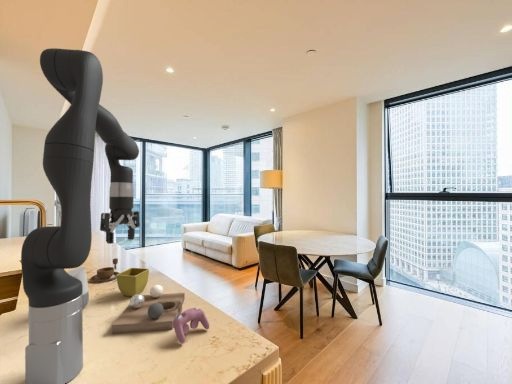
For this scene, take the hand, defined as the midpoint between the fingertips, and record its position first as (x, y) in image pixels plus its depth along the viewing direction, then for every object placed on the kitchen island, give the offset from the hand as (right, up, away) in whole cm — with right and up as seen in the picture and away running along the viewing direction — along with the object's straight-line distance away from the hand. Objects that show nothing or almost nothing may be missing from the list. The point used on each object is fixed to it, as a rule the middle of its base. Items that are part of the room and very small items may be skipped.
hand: (121, 241), depth 84 cm
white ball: (+12, -21, +2) cm, 24 cm away
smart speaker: (-16, -24, -1) cm, 29 cm away
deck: (+13, -23, -5) cm, 27 cm away
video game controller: (+30, -23, -17) cm, 42 cm away
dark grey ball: (+17, -21, -12) cm, 30 cm away
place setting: (-23, -25, +33) cm, 47 cm away
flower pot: (-2, -24, +11) cm, 26 cm away
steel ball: (+9, -21, -6) cm, 23 cm away
